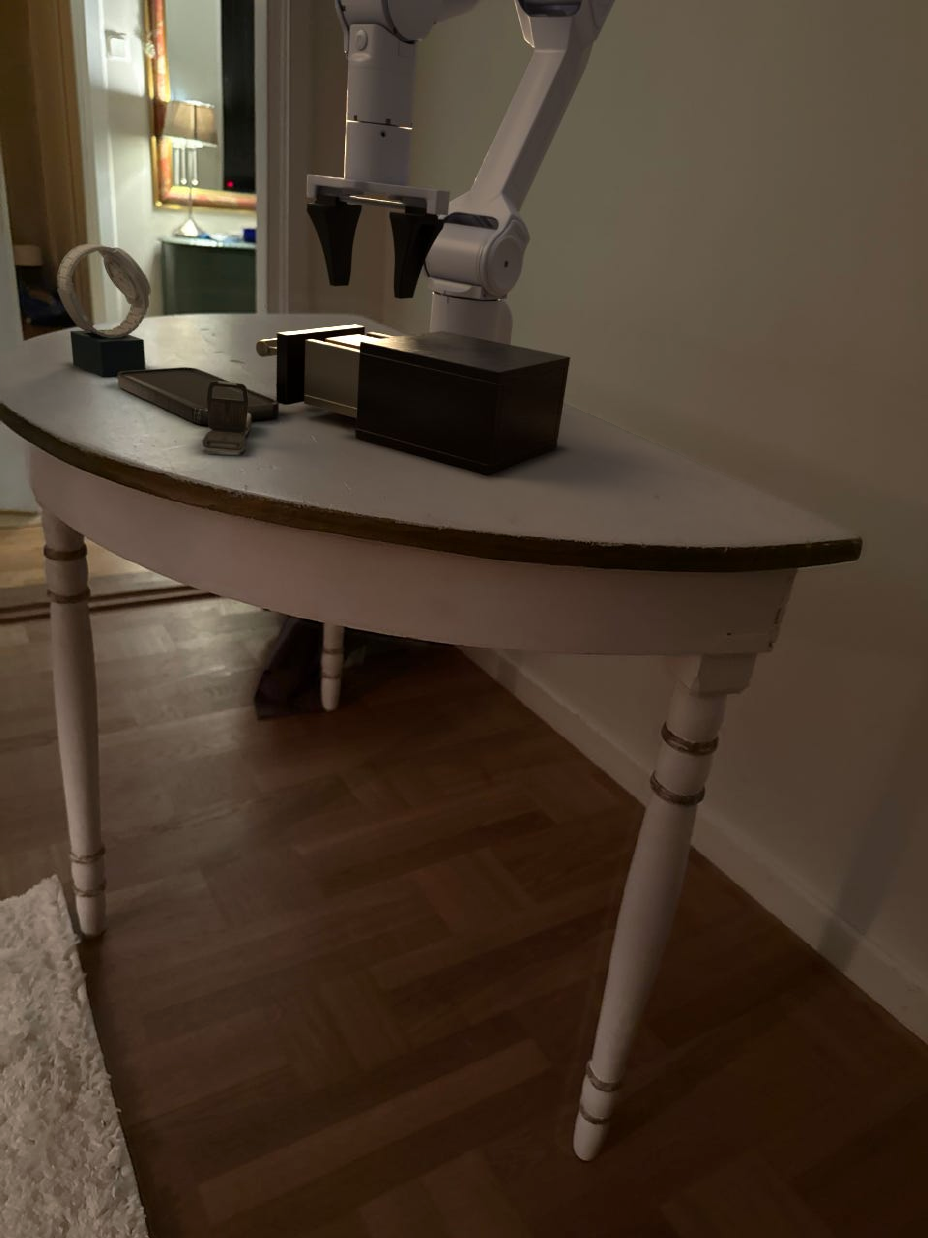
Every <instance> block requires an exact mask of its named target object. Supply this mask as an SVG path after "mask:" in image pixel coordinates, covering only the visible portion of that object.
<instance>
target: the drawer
mask: <svg viewBox="0 0 928 1238" xmlns="http://www.w3.org/2000/svg"><path fill="white" fill-rule="evenodd" d="M351 335H363V336H367V337H372V338H377V339H384V338H392V337H393V336H391V335H388V334H382V333H378V332H374V331H370V332H367V333H366V327H365V326H364V325H359V324H350V325H339V326H330V327H319V328H310V329H301V330H291V331H281V332H277V333H276V338H269V339H260V340H258V341H257V342H256V344H255V350H256V353H257V354H258V356H259V357H262V358H264V357H272V356H276V388H275V389H276V391H275V393H276V396H275V397H276V398H275V400H277V401H278V402H279V404H281V405H283V406H289V405H295V404H299V403H303V404H304V405H307V406H311V407H314V408H318V409H322V410H325V411H329V412H333V413H337V414H340V415H344V416H347V417H351V418H355V419H357V398H358V377H359V356H360V350H357V349H353V348H348V347H344V346H340V345H335V344H331V343H326V342H325V339H326V338H334V337H342V336H351Z"/></svg>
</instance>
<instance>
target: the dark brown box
mask: <svg viewBox="0 0 928 1238" xmlns="http://www.w3.org/2000/svg"><path fill="white" fill-rule="evenodd" d="M570 363H571V356H567V355H562V354H556V353H552V352H547V351H542V350H537V349H532V348H527V347H522V346H517V345H513V344H510V345H508V344H503V343H499V342H494V341H489V340H484V339H479V338H474V337H469V336H464V335H459V334H455V333H450V332H445V331H438V332H431V333H430V332H424V333H415V334H409V335H402V336H400V335H399V336H392V338H384V339H376V340H368V341H361V342H360V356H359V377H358V398H357V418H355V419H356V420H355V421H356V422H355V424H356V425H355V438H356V439H359V440H363V441H366V442H370V443H373V444H377V445H380V446H385V447H387V448H391V449H394V450H398V451H402V452H405V453H408V454H411V455H416V456H419V457H422V458H426V459H429V460H432V461H437V462H439V463H444V464H447V465H450V466H454V467H456V468H457V467H458V468H461V469H465V470H469V471H472V472H475V473H479V474H482V475H486V476H488V475H491V474H495V473H496V472H499V471H501V470H504V469H507V468H510V467H512V466H514V465H517V464H519V463H522V462H525V461H527V460H530V459H532V458H535V457H537V456H539V455H542V454H545V453H548V452H549V451H553V450H556V449H557V447H558V439H559V435H560V434H559V433H560V429H561V428H560V427H561V421H562V414H563V408H564V407H563V406H564V402H565V394H566V389H567V388H566V387H567V381H568V375H569V370H570V369H569V367H570Z"/></svg>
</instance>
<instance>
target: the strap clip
mask: <svg viewBox="0 0 928 1238" xmlns="http://www.w3.org/2000/svg"><path fill="white" fill-rule="evenodd" d="M214 386H225V387H235V388H241V389H242V390H243V398H244V400H233V399H222V398H212V395H213V387H214ZM247 389H248V387H247V385H245V384H244V383H240V382H233V381H229V382H223V381H212V382H211V383H210V384H209V387H208V393H207V410H208V425H207V426H208V429H210V431H208V432H207V433H206V434H205V436H204V438H203V439H202V449H203V450H204V451H208V452H209V451H211V452H220V453H221V452H223V453H236V454H240V453H242V452H244V451H245V449H246V436H247V435H248V433H249V431H250V429H251V427H252V420H251V414H250V413H248V403H249V399H248V392H247Z"/></svg>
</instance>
